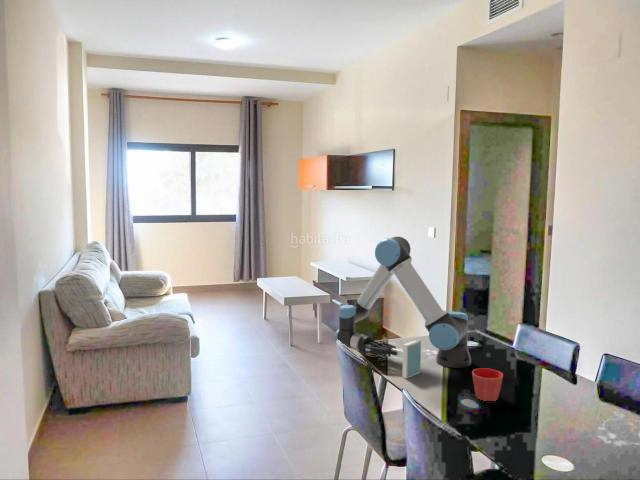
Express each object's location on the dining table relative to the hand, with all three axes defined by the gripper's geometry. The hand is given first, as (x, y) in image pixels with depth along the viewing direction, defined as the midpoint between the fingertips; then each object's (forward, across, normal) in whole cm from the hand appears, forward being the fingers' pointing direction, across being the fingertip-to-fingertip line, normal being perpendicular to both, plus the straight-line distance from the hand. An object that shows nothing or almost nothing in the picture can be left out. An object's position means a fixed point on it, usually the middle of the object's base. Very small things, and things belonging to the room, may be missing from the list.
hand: (404, 354), depth 215 cm
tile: (+4, 0, -8) cm, 9 cm away
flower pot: (+38, 0, -8) cm, 39 cm away
